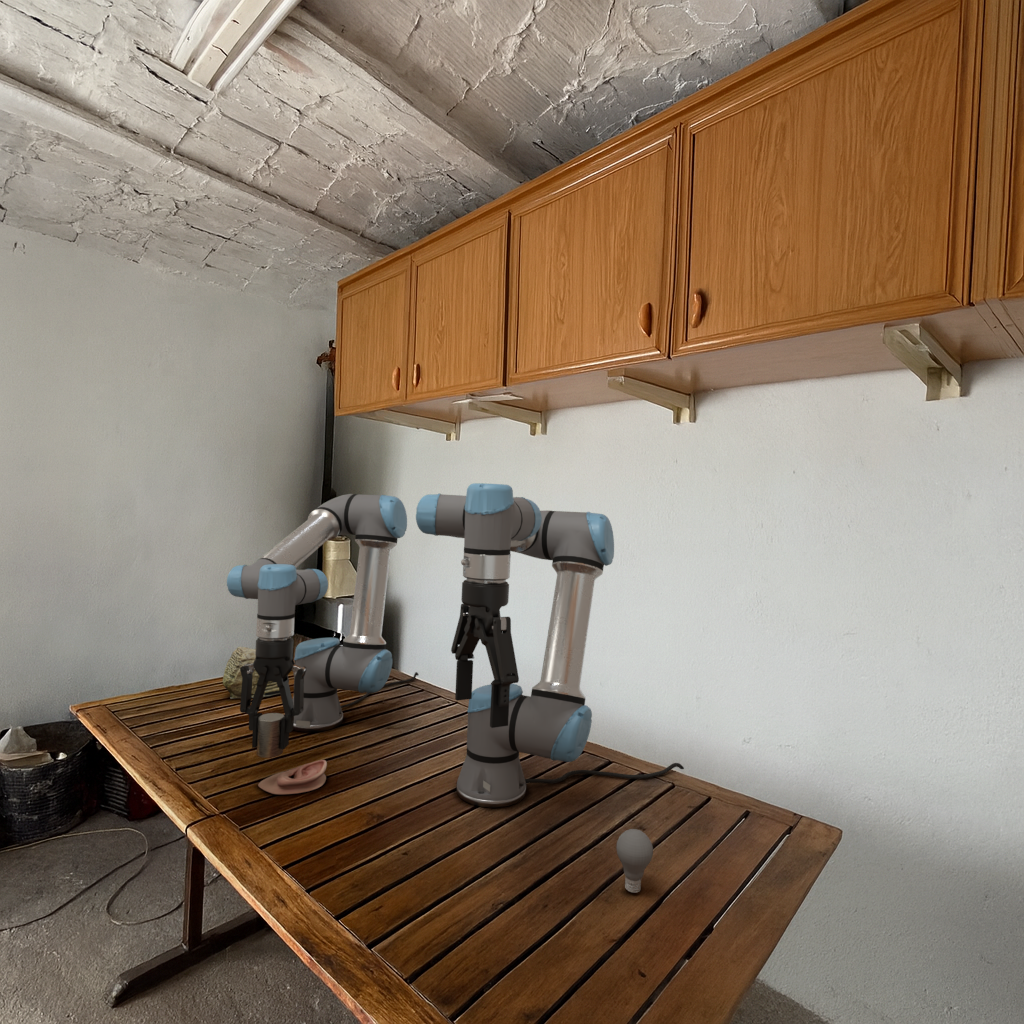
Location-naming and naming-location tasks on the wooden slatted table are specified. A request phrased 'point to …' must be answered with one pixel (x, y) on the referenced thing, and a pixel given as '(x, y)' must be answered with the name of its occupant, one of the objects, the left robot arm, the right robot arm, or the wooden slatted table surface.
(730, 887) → the wooden slatted table surface
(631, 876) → the light bulb
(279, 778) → the anatomical model
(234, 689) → the fossil
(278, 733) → the tin
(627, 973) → the wooden slatted table surface
